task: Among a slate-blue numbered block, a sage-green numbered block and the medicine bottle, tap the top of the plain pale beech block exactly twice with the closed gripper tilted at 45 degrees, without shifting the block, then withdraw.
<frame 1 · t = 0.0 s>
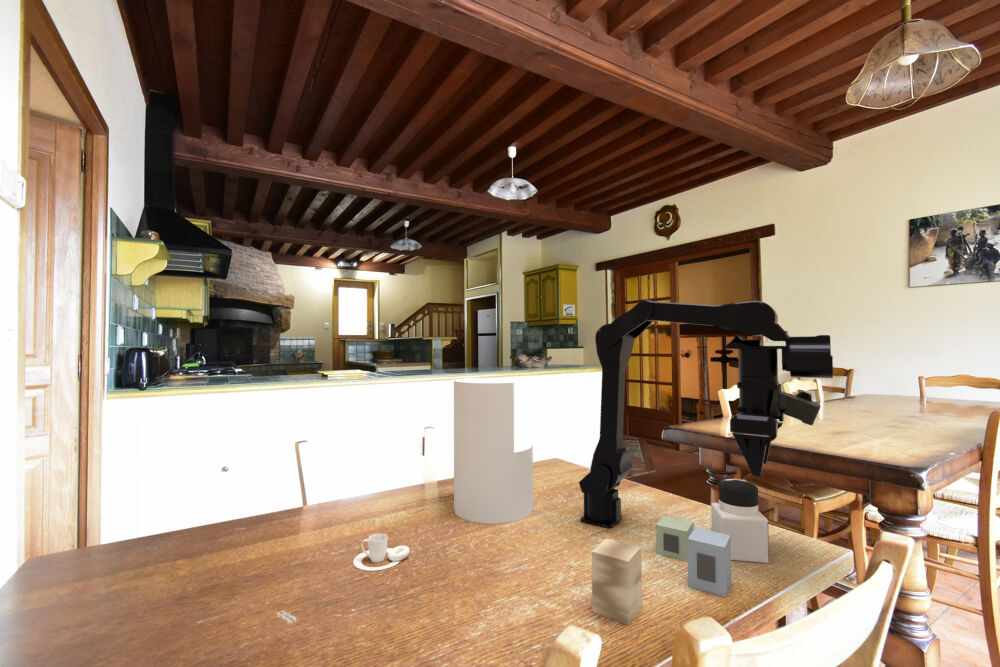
hand: (759, 469, 76), 15 cm above the table, tool pointing down, fingers open, 9 cm apart
sage numbered block: (675, 552, 78), on the table
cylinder: (493, 509, 99), on the table
beech block: (617, 609, 61), on the table
medicine bottle: (738, 553, 78), on the table
teacup and saucer: (385, 570, 73), on the table
slate numbered block: (710, 584, 68), on the table
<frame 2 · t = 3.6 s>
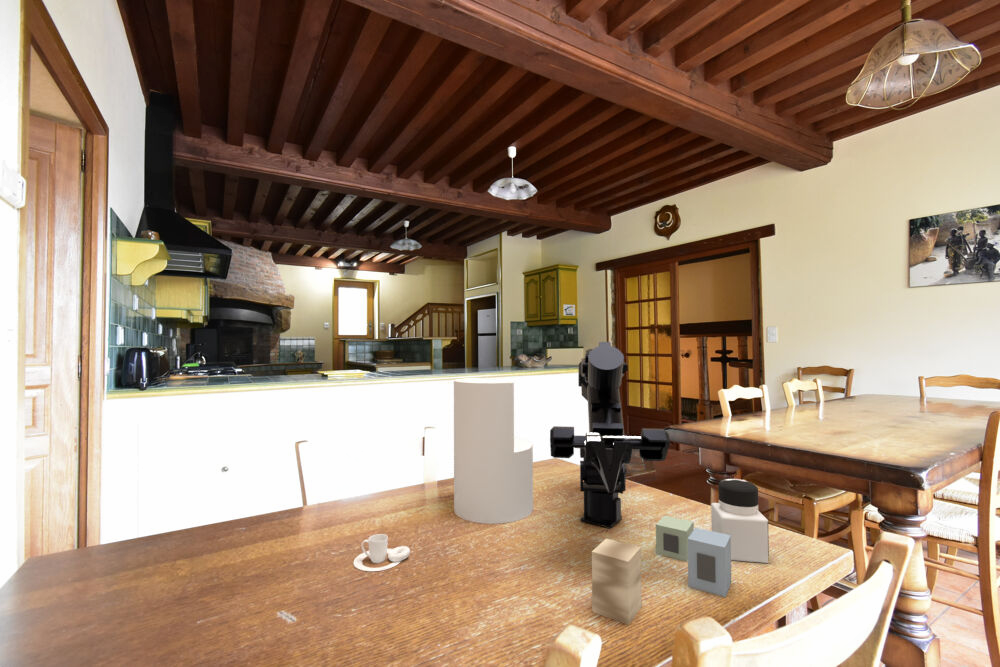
hand: (611, 491, 69), 13 cm above the table, tool tilted 45°, fingers closed
nothing on the table moved.
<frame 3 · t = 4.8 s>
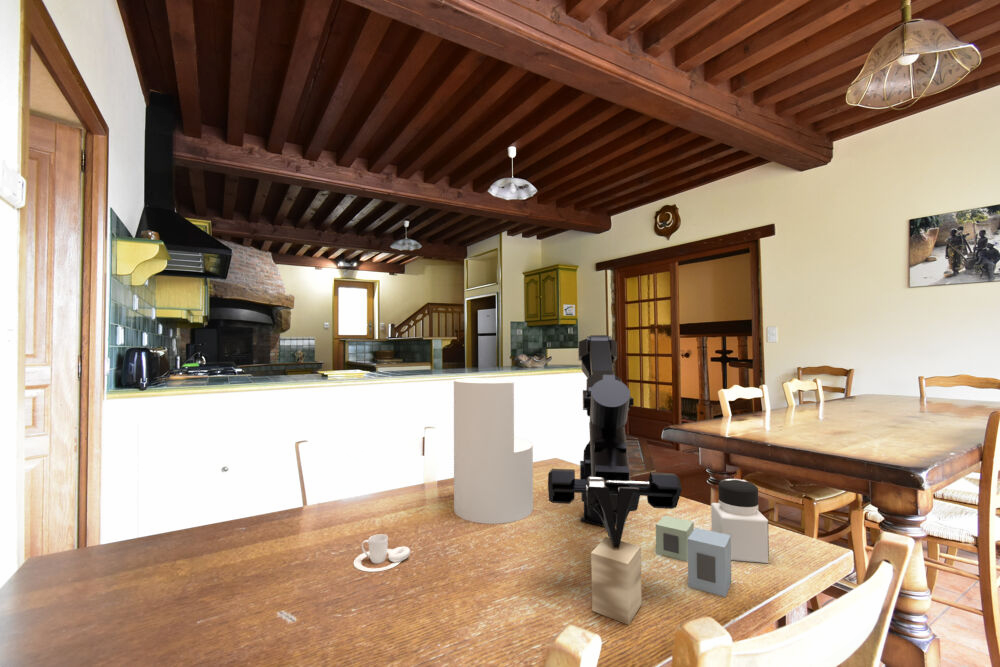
hand: (616, 546, 61), 9 cm above the table, tool tilted 45°, fingers closed, pressing on beech block
beech block: (617, 607, 61), on the table, touching gripper
everything else where it was.
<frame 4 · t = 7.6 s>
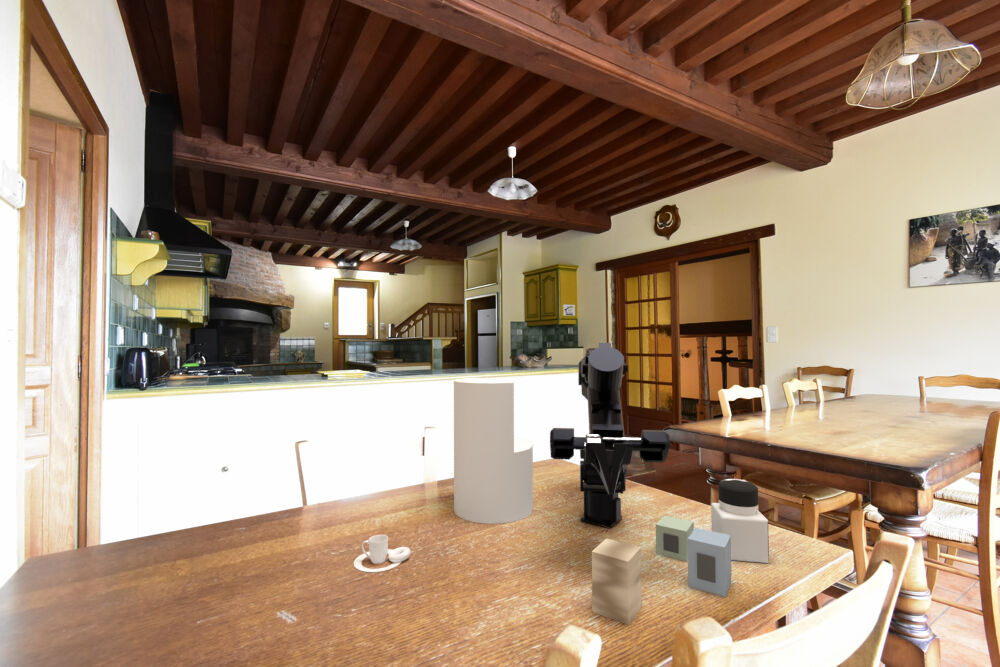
hand: (611, 493, 69), 13 cm above the table, tool tilted 45°, fingers closed
beech block: (617, 609, 61), on the table
everything else where it was.
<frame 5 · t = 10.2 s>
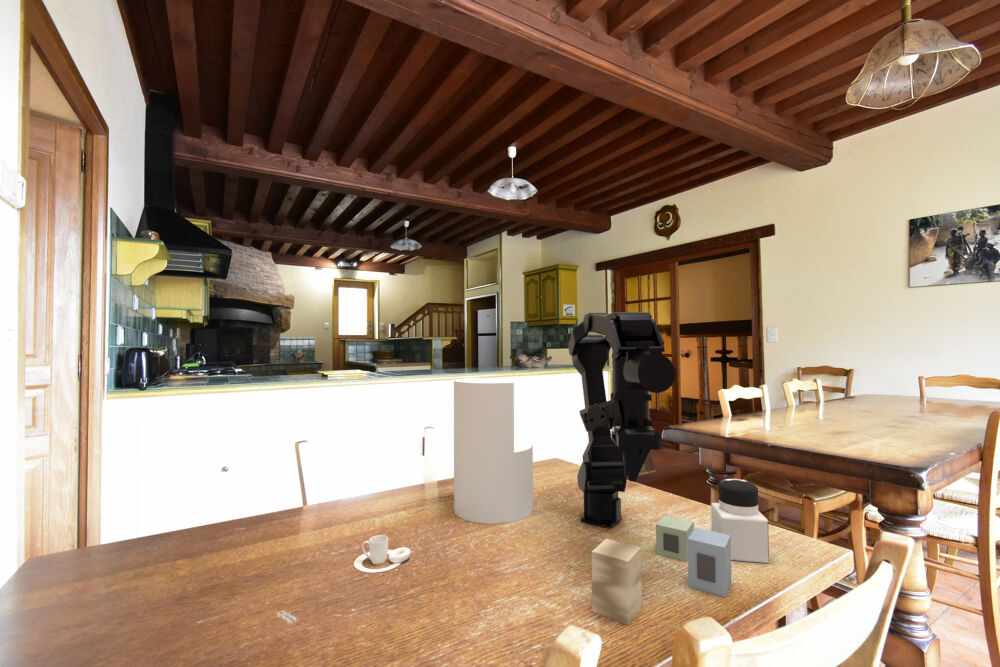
hand: (632, 480, 76), 13 cm above the table, tool pointing down, fingers closed
nothing on the table moved.
at the end: beech block moved 0.1 cm from its start; beech block tilted 0°; beech block touching table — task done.
